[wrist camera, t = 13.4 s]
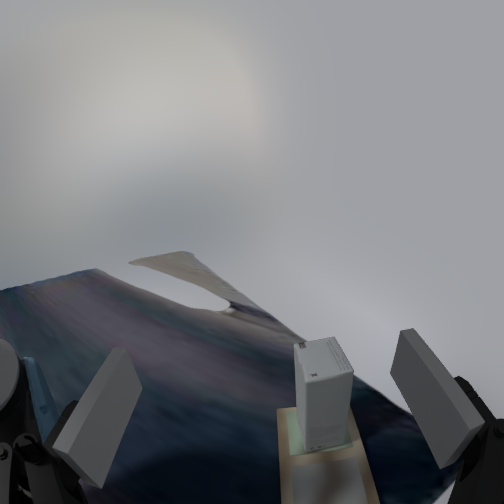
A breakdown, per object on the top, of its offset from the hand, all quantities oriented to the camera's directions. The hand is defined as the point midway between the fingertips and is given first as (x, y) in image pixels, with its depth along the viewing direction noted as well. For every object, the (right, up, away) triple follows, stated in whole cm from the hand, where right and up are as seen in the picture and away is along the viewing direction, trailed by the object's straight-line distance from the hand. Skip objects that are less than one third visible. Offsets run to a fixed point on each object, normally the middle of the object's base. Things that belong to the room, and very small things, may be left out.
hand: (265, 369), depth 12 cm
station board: (+9, -24, +18) cm, 31 cm away
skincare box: (+9, -21, +23) cm, 33 cm away
